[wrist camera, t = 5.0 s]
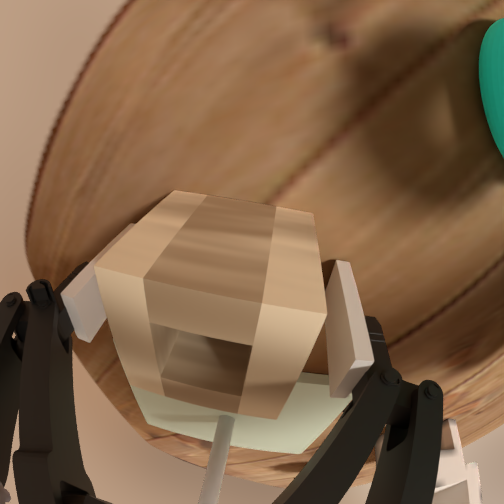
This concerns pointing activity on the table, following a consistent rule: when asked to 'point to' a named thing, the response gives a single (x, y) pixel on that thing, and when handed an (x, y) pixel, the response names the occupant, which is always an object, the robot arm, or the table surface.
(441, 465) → the toy llama
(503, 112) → the donuts
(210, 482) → the stand
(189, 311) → the bead
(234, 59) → the table surface
